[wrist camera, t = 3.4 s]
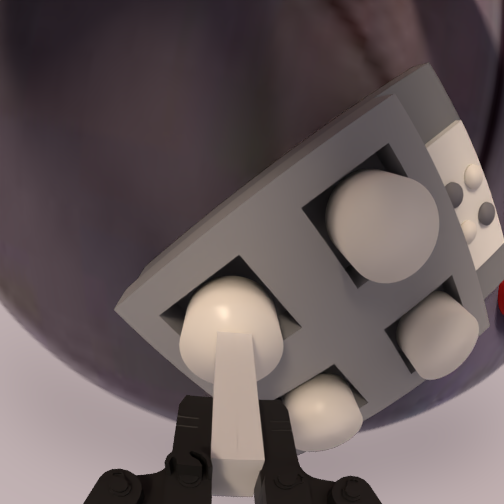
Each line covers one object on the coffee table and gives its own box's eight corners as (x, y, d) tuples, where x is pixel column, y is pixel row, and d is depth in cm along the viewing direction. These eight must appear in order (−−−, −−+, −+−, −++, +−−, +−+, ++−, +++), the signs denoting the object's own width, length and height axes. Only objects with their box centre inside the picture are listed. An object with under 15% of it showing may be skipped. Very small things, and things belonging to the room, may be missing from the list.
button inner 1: (168, 309, 16) (158, 342, 14) (238, 257, 16) (239, 284, 13) (226, 363, 18) (225, 399, 15) (292, 320, 17) (302, 353, 14)
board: (135, 275, 20) (113, 309, 16) (412, 67, 16) (452, 55, 12) (290, 416, 25) (297, 455, 21) (496, 263, 21) (528, 284, 17)
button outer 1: (267, 398, 19) (272, 432, 16) (329, 362, 18) (342, 395, 16) (305, 428, 21) (312, 458, 18) (360, 396, 20) (373, 426, 17)
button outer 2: (385, 323, 18) (406, 352, 15) (443, 276, 17) (471, 298, 14) (409, 363, 19) (427, 390, 16) (460, 322, 18) (483, 345, 16)
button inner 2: (306, 206, 15) (323, 222, 12) (381, 150, 14) (411, 154, 11) (355, 276, 16) (376, 302, 14) (420, 224, 16) (451, 241, 13)
